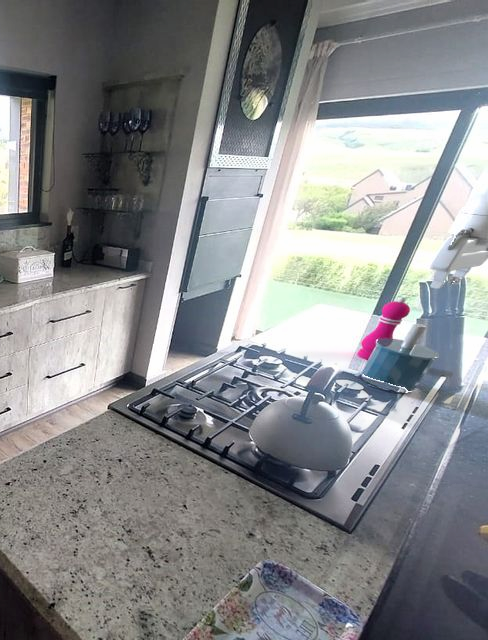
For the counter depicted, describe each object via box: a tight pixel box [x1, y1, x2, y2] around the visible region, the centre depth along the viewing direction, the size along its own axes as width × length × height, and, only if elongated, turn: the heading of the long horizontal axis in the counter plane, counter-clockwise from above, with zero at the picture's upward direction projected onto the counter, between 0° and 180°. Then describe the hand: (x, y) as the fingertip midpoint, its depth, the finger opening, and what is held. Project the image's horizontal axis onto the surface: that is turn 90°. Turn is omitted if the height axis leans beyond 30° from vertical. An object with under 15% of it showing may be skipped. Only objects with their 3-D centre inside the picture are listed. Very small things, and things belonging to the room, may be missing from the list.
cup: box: [360, 345, 435, 392], centre depth 112 cm, size 12×12×10 cm
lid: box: [376, 323, 440, 361], centre depth 108 cm, size 13×13×8 cm
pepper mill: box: [357, 296, 411, 361], centre depth 124 cm, size 7×7×20 cm
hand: (444, 286), depth 101 cm, fingers open, 8 cm apart
